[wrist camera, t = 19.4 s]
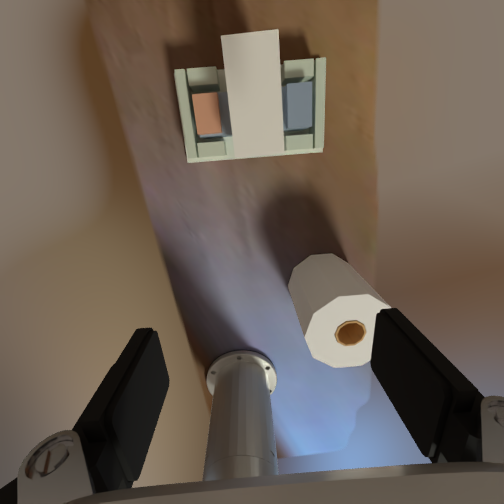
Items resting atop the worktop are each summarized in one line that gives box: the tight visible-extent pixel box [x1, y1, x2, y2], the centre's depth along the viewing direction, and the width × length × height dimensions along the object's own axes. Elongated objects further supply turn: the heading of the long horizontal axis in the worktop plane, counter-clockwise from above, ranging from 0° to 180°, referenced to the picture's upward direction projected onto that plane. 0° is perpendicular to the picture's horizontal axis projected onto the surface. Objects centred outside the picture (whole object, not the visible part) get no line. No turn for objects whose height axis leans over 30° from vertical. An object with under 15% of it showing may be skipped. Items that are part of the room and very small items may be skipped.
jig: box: [174, 58, 326, 163], centre depth 29 cm, size 10×17×4 cm, turn 94°
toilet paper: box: [288, 253, 391, 368], centre depth 34 cm, size 10×10×12 cm
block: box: [221, 29, 285, 159], centre depth 24 cm, size 9×4×6 cm, turn 6°
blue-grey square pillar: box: [192, 82, 312, 139], centre depth 28 cm, size 4×12×5 cm, turn 95°
